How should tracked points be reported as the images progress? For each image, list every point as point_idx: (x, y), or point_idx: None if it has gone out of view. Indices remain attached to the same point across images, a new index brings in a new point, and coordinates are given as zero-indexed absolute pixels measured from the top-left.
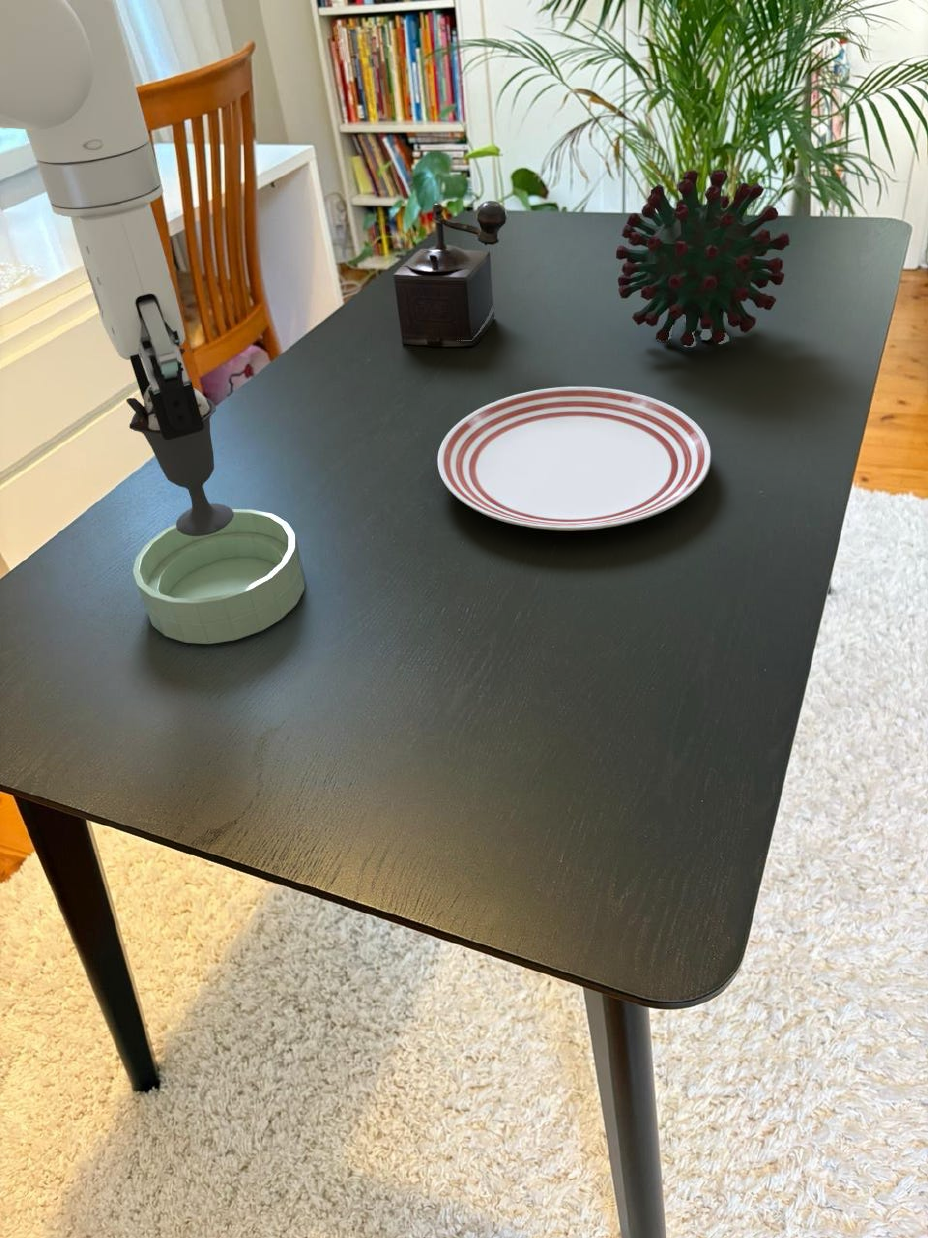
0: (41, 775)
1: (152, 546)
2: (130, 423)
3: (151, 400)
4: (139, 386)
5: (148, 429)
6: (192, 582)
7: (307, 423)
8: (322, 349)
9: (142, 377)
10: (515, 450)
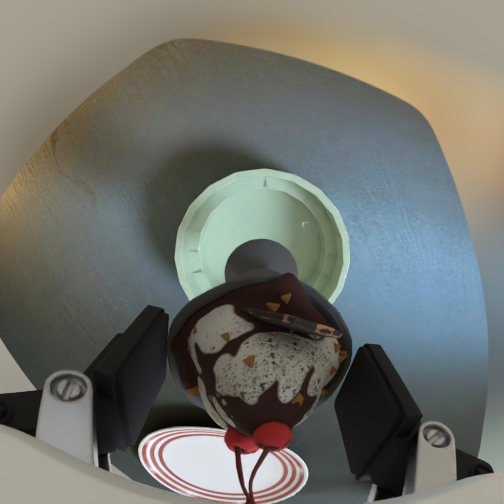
0: (160, 53)
1: (331, 213)
2: (293, 280)
3: (104, 356)
4: (380, 364)
5: (227, 300)
6: (303, 229)
7: (426, 395)
8: (471, 420)
9: (376, 389)
10: (262, 464)
